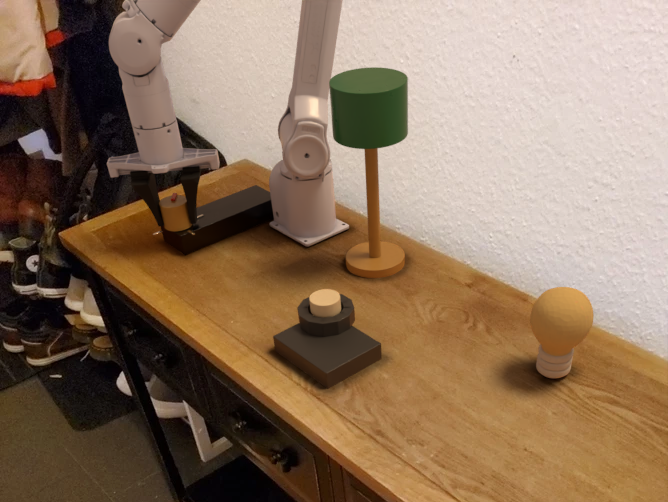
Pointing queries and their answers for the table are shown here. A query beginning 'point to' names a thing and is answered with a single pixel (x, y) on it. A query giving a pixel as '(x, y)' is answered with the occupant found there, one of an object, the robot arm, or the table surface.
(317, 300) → the lamp switch
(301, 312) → the switch box
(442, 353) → the table surface
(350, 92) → the lamp
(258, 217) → the dimmer
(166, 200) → the dimmer knob
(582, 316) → the light bulb
